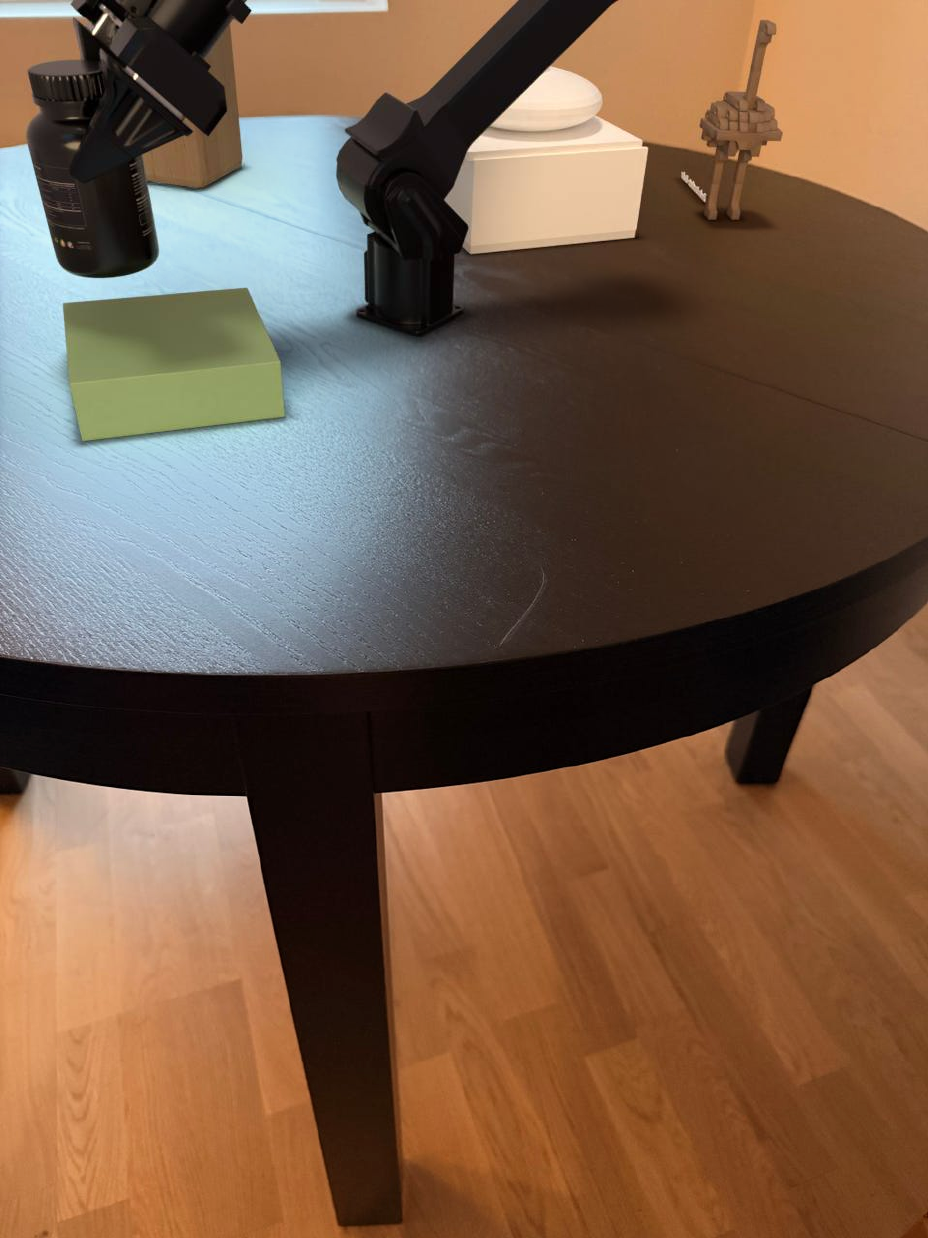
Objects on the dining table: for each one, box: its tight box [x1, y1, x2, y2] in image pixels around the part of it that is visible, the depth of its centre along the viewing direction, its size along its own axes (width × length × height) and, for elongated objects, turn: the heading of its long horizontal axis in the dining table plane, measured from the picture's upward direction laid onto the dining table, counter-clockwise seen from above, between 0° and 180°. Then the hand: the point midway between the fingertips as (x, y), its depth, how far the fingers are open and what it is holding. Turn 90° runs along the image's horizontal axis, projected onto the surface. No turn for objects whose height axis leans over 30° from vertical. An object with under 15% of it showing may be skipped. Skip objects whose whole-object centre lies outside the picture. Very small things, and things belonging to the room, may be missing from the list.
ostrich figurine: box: [680, 19, 784, 221], centre depth 102 cm, size 17×7×18 cm, turn 7°
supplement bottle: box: [25, 59, 160, 279], centre depth 65 cm, size 7×7×12 cm
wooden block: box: [142, 23, 244, 189], centre depth 102 cm, size 10×10×20 cm
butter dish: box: [444, 65, 649, 255], centre depth 96 cm, size 18×18×16 cm
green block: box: [62, 287, 286, 442], centre depth 69 cm, size 13×13×4 cm
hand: (67, 161), depth 64 cm, fingers closed on supplement bottle, 7 cm apart
